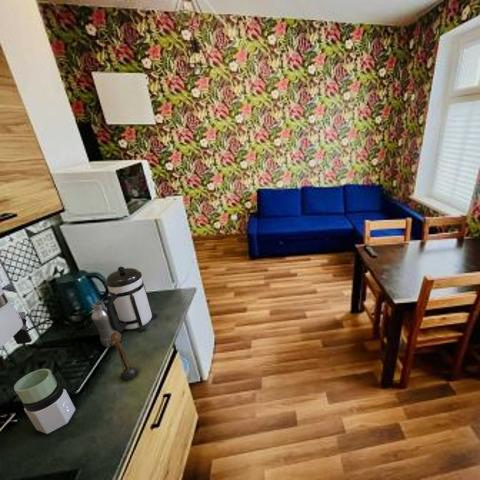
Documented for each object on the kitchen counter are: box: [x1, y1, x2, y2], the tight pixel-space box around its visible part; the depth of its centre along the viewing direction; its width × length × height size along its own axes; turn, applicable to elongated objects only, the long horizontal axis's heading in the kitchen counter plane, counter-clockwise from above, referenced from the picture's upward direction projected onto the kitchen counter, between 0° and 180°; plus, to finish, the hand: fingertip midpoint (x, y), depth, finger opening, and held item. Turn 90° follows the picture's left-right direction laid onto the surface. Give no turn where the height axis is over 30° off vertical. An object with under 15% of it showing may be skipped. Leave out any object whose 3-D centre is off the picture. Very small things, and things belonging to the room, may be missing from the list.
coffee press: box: [104, 266, 157, 333], centre depth 116 cm, size 17×16×30 cm
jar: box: [21, 380, 76, 435], centre depth 80 cm, size 9×8×12 cm
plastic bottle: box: [91, 300, 119, 348], centre depth 108 cm, size 6×7×20 cm
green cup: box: [13, 368, 57, 404], centre depth 77 cm, size 7×7×6 cm
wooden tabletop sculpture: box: [110, 331, 138, 382], centre depth 93 cm, size 6×5×20 cm
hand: (13, 355), depth 74 cm, fingers open, 9 cm apart
